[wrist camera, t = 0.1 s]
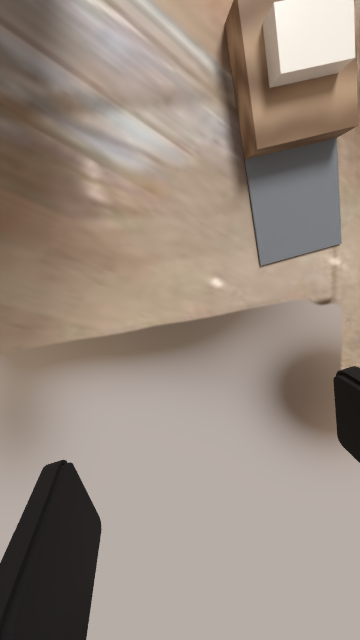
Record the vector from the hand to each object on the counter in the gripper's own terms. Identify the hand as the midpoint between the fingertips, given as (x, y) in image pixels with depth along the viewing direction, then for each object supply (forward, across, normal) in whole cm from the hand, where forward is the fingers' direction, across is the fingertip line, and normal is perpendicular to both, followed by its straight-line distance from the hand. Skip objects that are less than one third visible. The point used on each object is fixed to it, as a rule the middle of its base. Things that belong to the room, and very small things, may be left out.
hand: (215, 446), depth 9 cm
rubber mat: (+31, -24, -7) cm, 40 cm away
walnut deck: (+31, -24, -22) cm, 45 cm away
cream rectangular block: (+27, -24, -24) cm, 43 cm away
